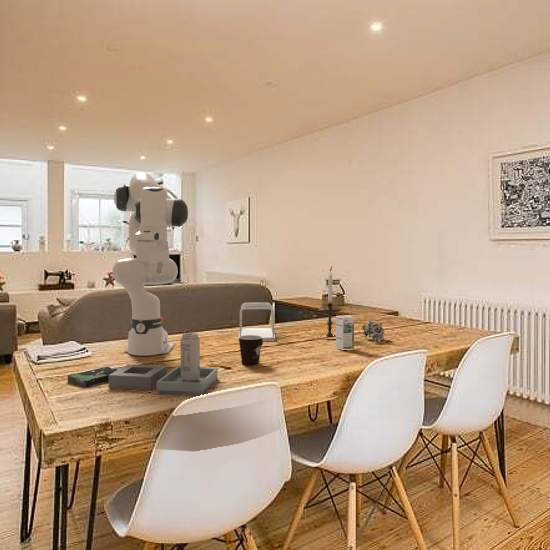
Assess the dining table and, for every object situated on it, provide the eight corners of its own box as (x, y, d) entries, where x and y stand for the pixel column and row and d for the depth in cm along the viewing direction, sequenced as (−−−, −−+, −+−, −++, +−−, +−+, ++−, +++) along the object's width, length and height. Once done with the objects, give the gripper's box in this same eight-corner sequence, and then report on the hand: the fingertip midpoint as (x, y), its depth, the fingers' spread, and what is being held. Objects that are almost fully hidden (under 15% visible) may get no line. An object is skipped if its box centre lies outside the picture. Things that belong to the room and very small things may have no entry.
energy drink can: (203, 381, 153) (202, 334, 152) (185, 384, 150) (185, 336, 149) (194, 377, 158) (194, 331, 157) (177, 379, 155) (177, 333, 154)
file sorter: (239, 332, 247) (239, 301, 246) (273, 331, 248) (273, 301, 247) (237, 341, 222) (237, 308, 221) (275, 341, 223) (275, 308, 222)
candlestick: (342, 336, 235) (343, 265, 233) (339, 340, 225) (340, 266, 222) (319, 335, 238) (320, 264, 235) (316, 339, 227) (317, 265, 225)
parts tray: (177, 377, 162) (176, 366, 161) (217, 378, 160) (217, 368, 160) (156, 393, 144) (156, 381, 144) (201, 395, 142) (201, 383, 142)
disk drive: (106, 374, 168) (66, 383, 155) (106, 366, 167) (66, 374, 155) (125, 379, 162) (85, 389, 149) (125, 370, 161) (85, 380, 149)
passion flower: (378, 353, 222) (374, 335, 215) (358, 346, 229) (354, 328, 222) (390, 337, 228) (387, 319, 221) (371, 330, 235) (367, 312, 228)
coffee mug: (245, 367, 175) (245, 340, 174) (234, 362, 182) (234, 336, 181) (273, 363, 181) (273, 337, 180) (261, 359, 188) (261, 333, 187)
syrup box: (342, 351, 202) (343, 317, 202) (335, 348, 208) (335, 315, 207) (354, 350, 205) (354, 316, 204) (346, 347, 210) (346, 314, 209)
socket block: (128, 376, 163) (127, 364, 163) (166, 377, 161) (166, 365, 161) (108, 387, 149) (108, 375, 149) (150, 389, 147) (150, 376, 147)
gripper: (156, 234, 174) (156, 272, 175) (132, 234, 153) (132, 278, 155) (173, 234, 173) (173, 273, 174) (151, 235, 153) (151, 278, 154)
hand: (154, 275), depth 164 cm, fingers open, 8 cm apart
